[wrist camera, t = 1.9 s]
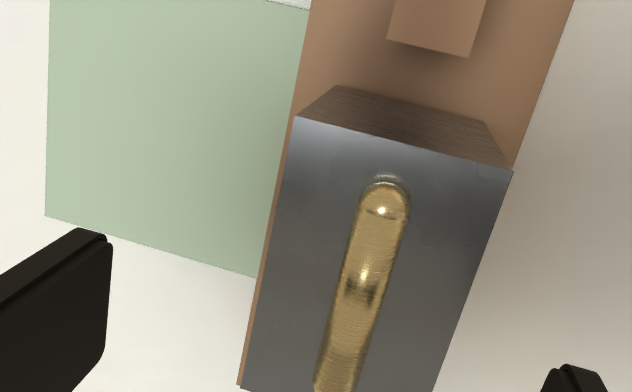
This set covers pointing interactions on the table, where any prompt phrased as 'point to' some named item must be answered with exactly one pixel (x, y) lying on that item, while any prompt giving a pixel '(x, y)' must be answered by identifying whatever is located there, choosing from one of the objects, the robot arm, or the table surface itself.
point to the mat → (171, 121)
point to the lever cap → (372, 245)
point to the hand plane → (428, 65)
